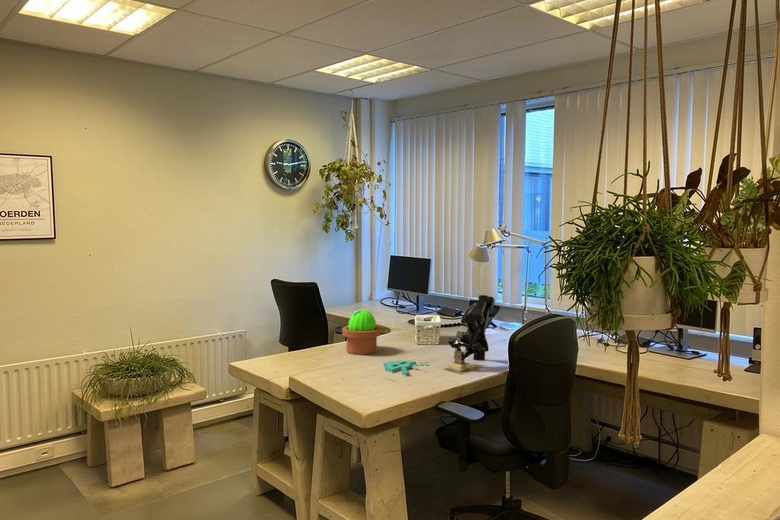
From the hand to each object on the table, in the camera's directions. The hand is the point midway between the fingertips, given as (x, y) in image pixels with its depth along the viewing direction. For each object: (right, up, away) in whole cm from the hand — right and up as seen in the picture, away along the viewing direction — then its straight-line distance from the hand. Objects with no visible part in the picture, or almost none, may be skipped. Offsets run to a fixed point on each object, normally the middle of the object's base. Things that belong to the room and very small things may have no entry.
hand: (457, 359), depth 288 cm
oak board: (+3, -7, +3) cm, 8 cm away
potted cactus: (-51, -3, +43) cm, 67 cm away
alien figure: (-28, -7, +8) cm, 30 cm away
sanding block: (+1, -5, +2) cm, 6 cm away
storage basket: (-11, -1, +72) cm, 73 cm away
